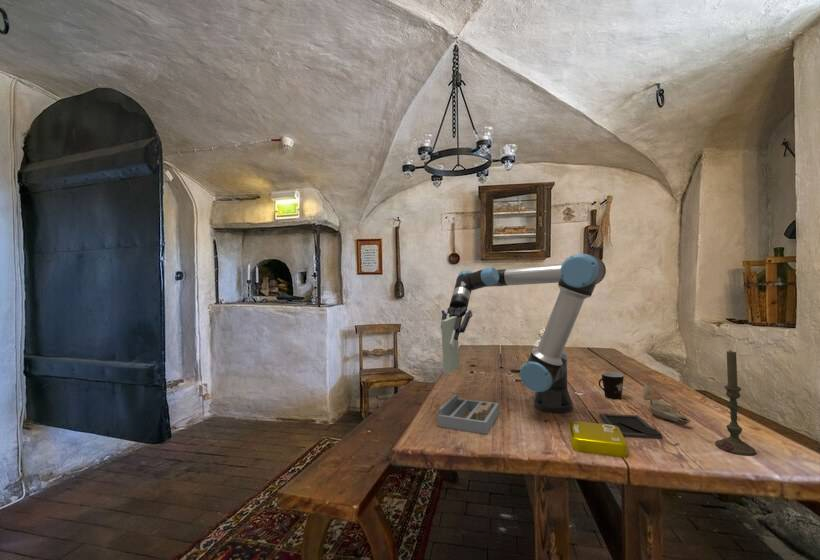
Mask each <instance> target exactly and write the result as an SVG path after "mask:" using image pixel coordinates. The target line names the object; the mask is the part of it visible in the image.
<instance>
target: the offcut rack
mask: <svg viewBox="0 0 820 560" xmlns="http://www.w3.org/2000/svg"><path fill="white" fill-rule="evenodd" d="M487 403H491V411H490V412H489V414H488V415H487V417H486V418H485V420H484V421H480V420H474V413H475V411H476V410H477V409H478V408H479V406H480V405H483V406H485V405H486V404H487ZM468 411H471V412H469V414H468V415H467V416H466V418H465V417H464V416H465V414H466V413H467V412H468ZM499 414H500V403H499V402H490V401H482V400H475V399H466V398H458V394H457V393H456V394H453V395H452V396H451V397H449V399H447V400H446V402H444V403H443V404H442V405H441V406H440V407H439V408H438V415H437V427H439V428H443V429H444V428H445V429H449V430H458V431H463V432H469V433H475V434H482V435H488V433H489V431H490V429H492V427H493V424H494V423H495V421H496V420H497V418H498V417H499Z"/></svg>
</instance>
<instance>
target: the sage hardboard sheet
mask: <svg viewBox="0 0 820 560" xmlns="http://www.w3.org/2000/svg"><path fill="white" fill-rule="evenodd" d="M456 321H457V316H452V317H450V318H449V317H446V319H445V320H443V321H442V320H441V321H440V330H441V329H442V330H441V347H442V367H443V370H442V371H443V374H444V375H450V374H451V373H452V372H453V371H455V369H457V368H458V367H460V354H459V351H460V350H459V348H460V347H459V339H458V340H455V344H454V348H452V347H451V345H450V341H451V337H452V333H453V330H455V329H456ZM455 331H456V330H455Z"/></svg>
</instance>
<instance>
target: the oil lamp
mask: <svg viewBox="0 0 820 560" xmlns="http://www.w3.org/2000/svg"><path fill="white" fill-rule="evenodd" d="M642 394H643V399H644V401H649V404H650V405H649V409H650V411H651V412H652V414H654V415H655V416H656V417H657V418H659V419H662V420H667V421H672V422H675V423H678V424H681V425H685V426H686V425H688V424H689V423H690V421H691V420H690V419H689V418H688V417H686V416H684V415H681V410H679V409H678V408H677V407H676V406H673V405H671V404H670V405H669V404H663V403H660V402H659V400H663V397H662V395H661V394H660V393H659V392H658V391H657V389H654V387H652V386H650V385H649V384H648V383H647V382H646V383H645V384H644V387H643V393H642Z"/></svg>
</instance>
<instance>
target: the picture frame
mask: <svg viewBox="0 0 820 560" xmlns="http://www.w3.org/2000/svg"><path fill="white" fill-rule="evenodd" d="M598 416H599V418H600V417H601V418H600V419H601V420H602V421H603V422H604V424H609V425H616V426H617V427H619V429H620V431H621V433H622V435H623V436H624V438H632V439H633V438H634V439H647V440H649V439H650V440H662V439H663V434H662V433H661V432H659V431H658V430H657V429H655V428H654V427H652V426H651V425H650V424H649V423H648V422H647V421H645V420H644V419H643V418H641V416H639V415H636V414H615V413H613V414H611V413H599V415H598Z"/></svg>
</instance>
